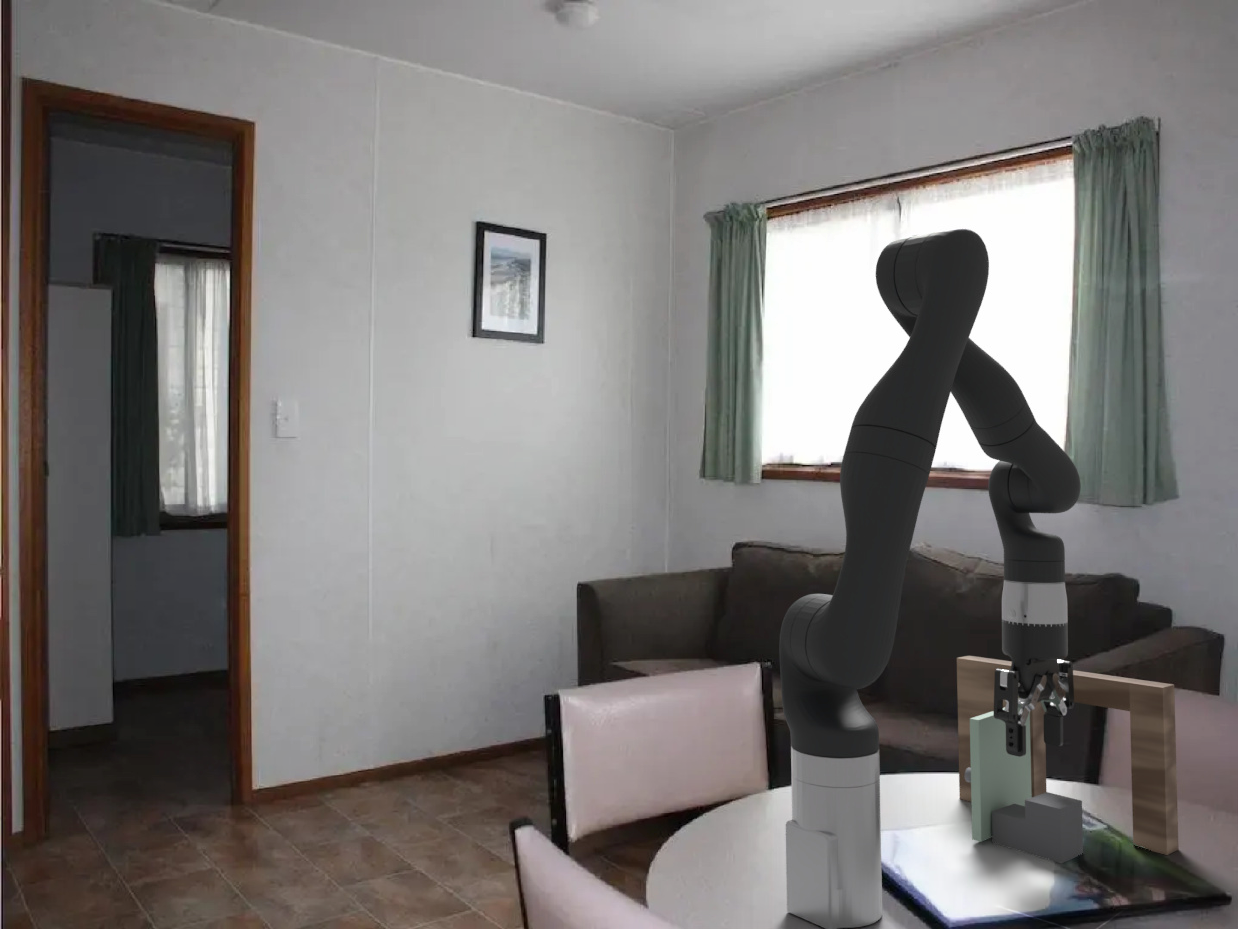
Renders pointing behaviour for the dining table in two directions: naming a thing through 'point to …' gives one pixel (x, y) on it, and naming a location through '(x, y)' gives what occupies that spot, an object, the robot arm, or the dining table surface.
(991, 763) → the door
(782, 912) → the dining table surface
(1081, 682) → the wall frame
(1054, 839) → the grey stepped block
